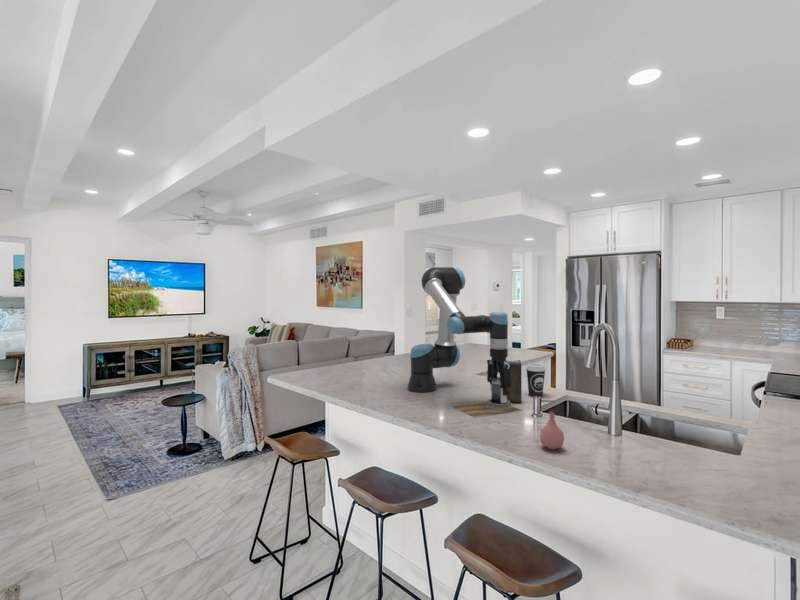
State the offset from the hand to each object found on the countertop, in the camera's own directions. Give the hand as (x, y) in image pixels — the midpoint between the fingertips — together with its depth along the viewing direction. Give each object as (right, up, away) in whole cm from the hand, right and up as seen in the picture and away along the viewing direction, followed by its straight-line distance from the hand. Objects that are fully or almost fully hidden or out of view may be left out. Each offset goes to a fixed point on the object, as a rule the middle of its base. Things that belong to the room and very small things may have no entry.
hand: (498, 400), depth 182 cm
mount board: (-6, -4, -2) cm, 7 cm away
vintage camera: (+9, -4, +19) cm, 21 cm away
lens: (0, -1, 0) cm, 1 cm away
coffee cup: (+24, -4, +24) cm, 34 cm away
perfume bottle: (+8, -6, -43) cm, 44 cm away
